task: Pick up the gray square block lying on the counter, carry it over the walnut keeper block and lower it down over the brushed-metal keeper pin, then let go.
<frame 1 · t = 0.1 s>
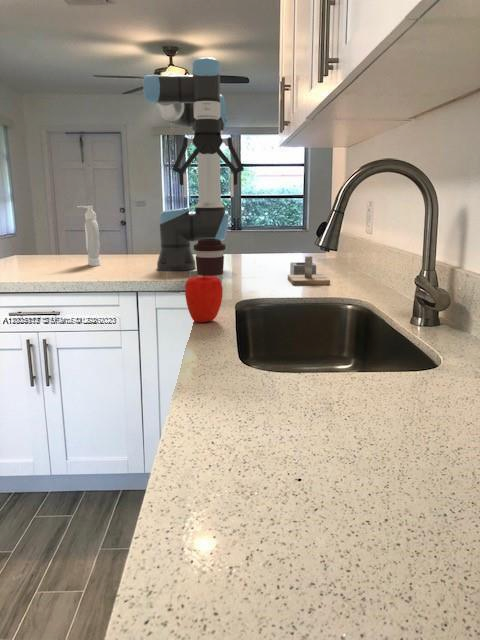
hand: (208, 197, 147), 28 cm above the worktop, fingers open, 13 cm apart
apple: (204, 322, 118), on the worktop
keeper: (308, 281, 169), on the worktop
coffee cup: (210, 287, 161), on the worktop
soap bottle: (91, 265, 213), on the worktop
gray square block: (302, 274, 183), on the worktop
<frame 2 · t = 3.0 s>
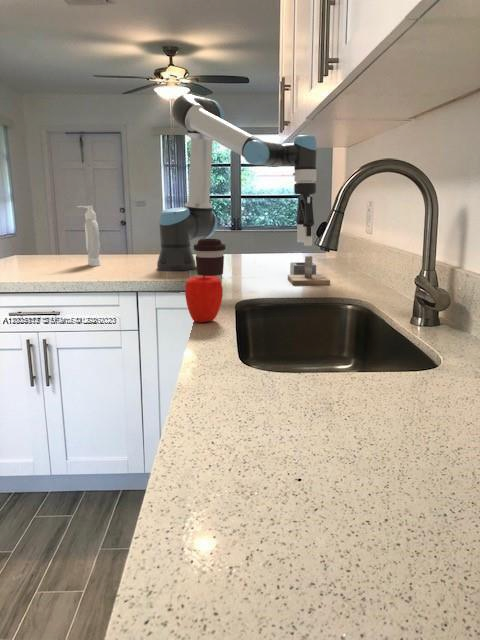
hand: (304, 244, 180), 11 cm above the worktop, fingers open, 13 cm apart
nothing on the worktop moved.
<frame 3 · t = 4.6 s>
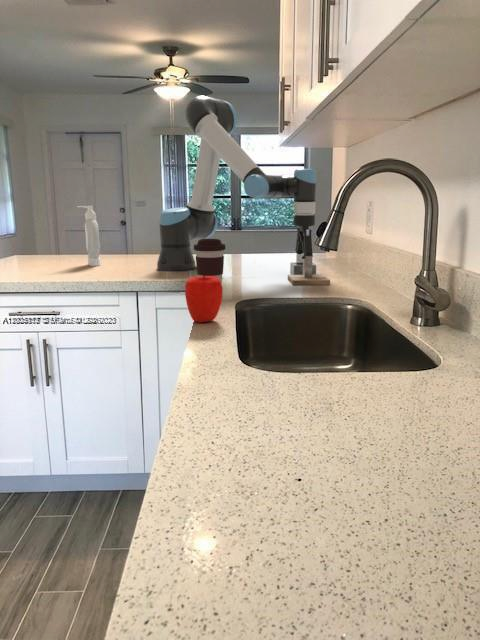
hand: (303, 274, 183), 0 cm above the worktop, fingers open, 13 cm apart
nothing on the worktop moved.
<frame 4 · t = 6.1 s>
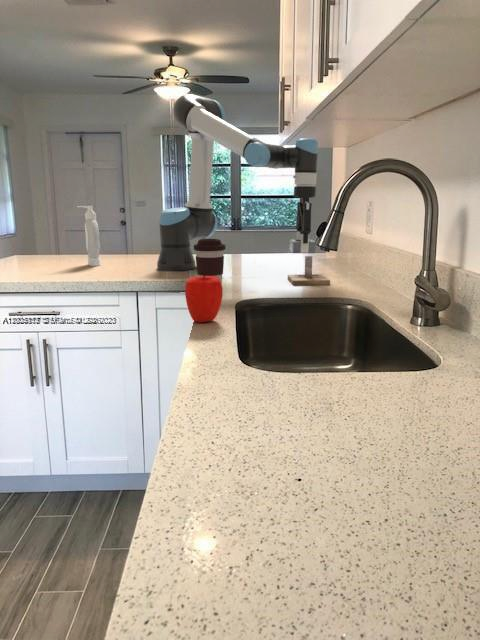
hand: (302, 250, 182), 9 cm above the worktop, fingers closed on gray square block, 8 cm apart
gray square block: (301, 251, 182), point 8 cm above the worktop, touching gripper
everything else where it was.
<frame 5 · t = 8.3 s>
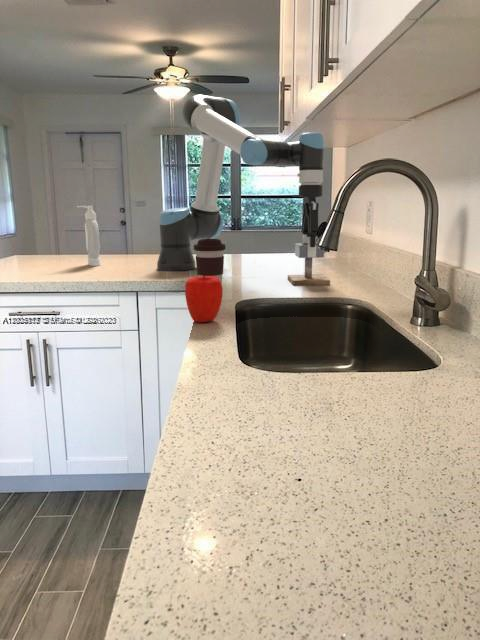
hand: (309, 255, 167), 9 cm above the worktop, fingers closed on gray square block, 8 cm apart
gray square block: (309, 256, 167), point 9 cm above the worktop, touching gripper
everything else where it was.
when the fingers open (3 cm above the worktop, at t = 10.5 s): gray square block stays where it is, resting on keeper.
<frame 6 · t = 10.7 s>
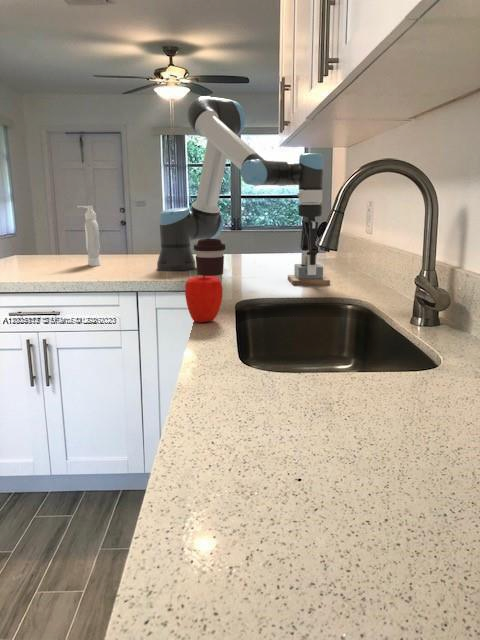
hand: (308, 272, 168), 3 cm above the worktop, fingers open, 10 cm apart
gray square block: (308, 277, 168), point 1 cm above the worktop, touching keeper
everything else where it was.
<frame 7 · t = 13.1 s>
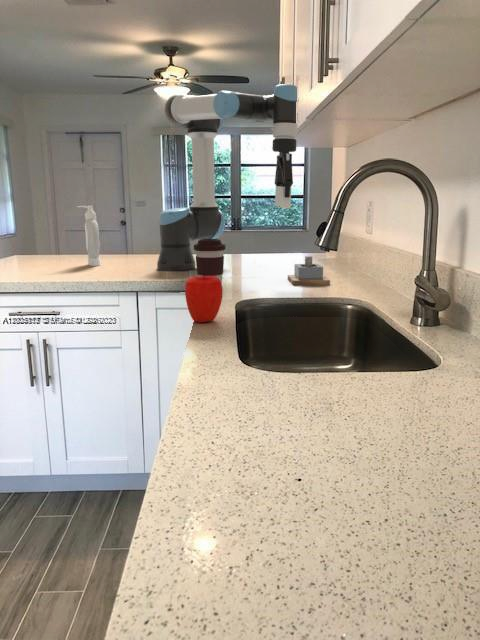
hand: (282, 207, 165), 24 cm above the worktop, fingers open, 13 cm apart
nothing on the worktop moved.
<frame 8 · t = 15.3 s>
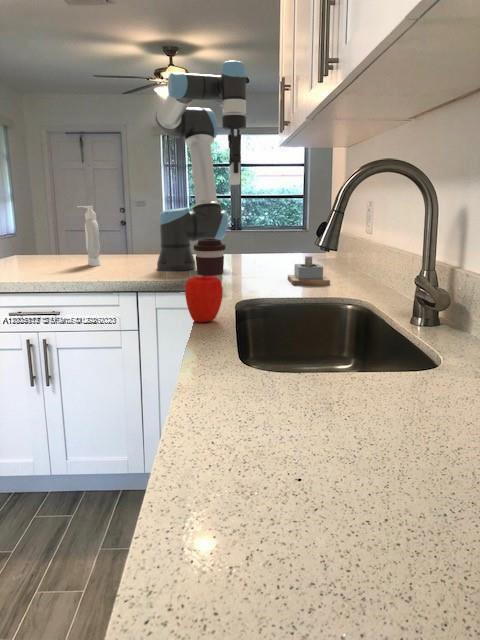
hand: (234, 184, 165), 32 cm above the worktop, fingers open, 13 cm apart
nothing on the worktop moved.
at the end: gray square block 0.0 cm off-centre on the keeper, point 1.5 cm above the keeper's base; the gripper is holding nothing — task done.
